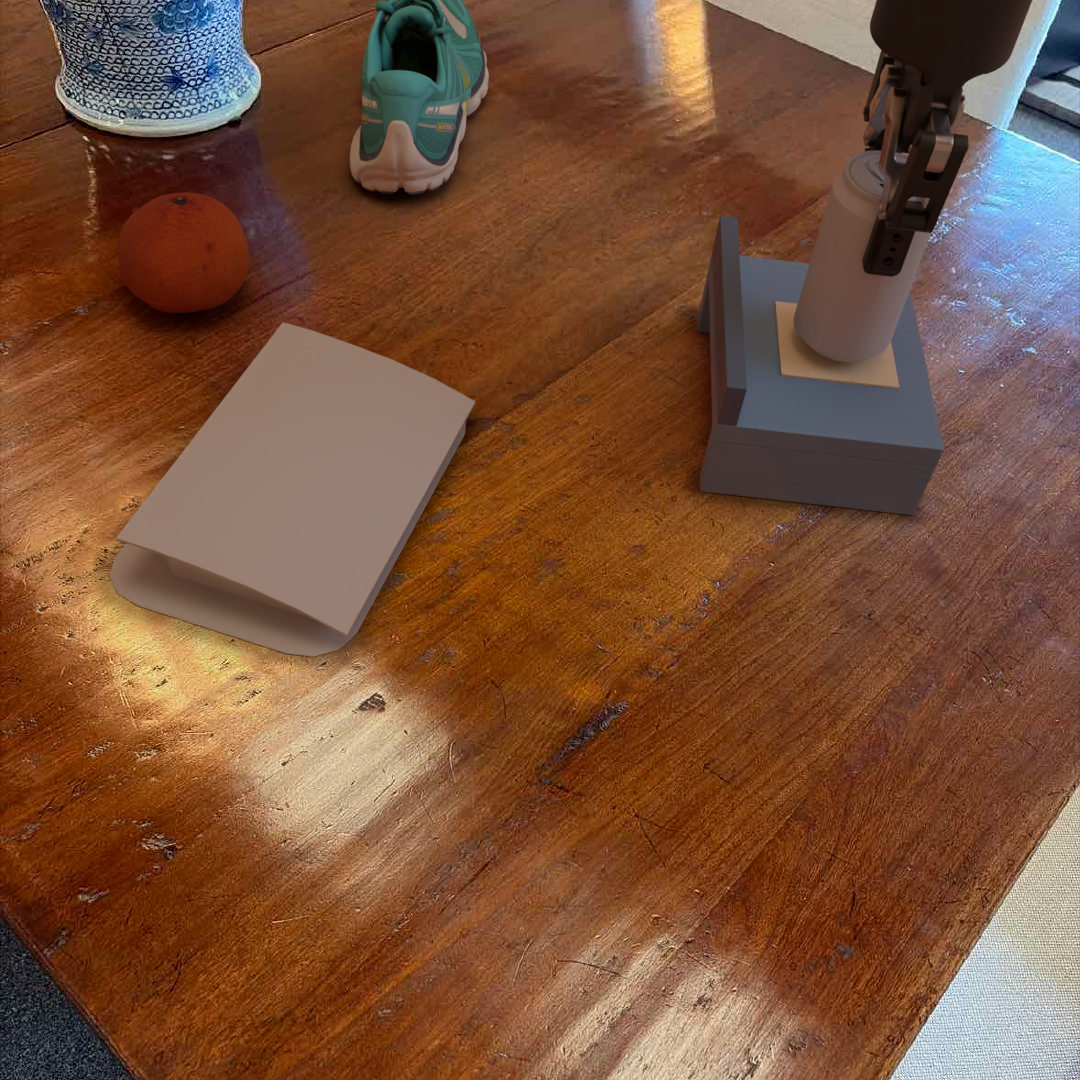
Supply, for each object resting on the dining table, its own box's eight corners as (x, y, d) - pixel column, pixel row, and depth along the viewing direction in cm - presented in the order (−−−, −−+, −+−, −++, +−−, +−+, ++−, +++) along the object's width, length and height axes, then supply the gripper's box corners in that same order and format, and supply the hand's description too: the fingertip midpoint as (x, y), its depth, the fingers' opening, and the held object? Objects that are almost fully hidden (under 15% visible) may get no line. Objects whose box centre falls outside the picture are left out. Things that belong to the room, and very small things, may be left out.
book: (90, 590, 68) (75, 545, 65) (272, 350, 83) (267, 305, 80) (338, 670, 66) (334, 627, 63) (480, 409, 81) (482, 364, 78)
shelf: (882, 340, 89) (921, 238, 83) (913, 516, 77) (961, 413, 71) (697, 319, 89) (720, 215, 82) (699, 491, 77) (726, 386, 70)
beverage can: (824, 378, 75) (880, 214, 66) (772, 317, 79) (817, 154, 70) (907, 357, 77) (971, 195, 68) (851, 298, 81) (905, 137, 72)
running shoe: (490, 46, 115) (496, -79, 106) (482, 215, 96) (489, 81, 87) (373, 37, 114) (370, -89, 106) (343, 206, 95) (336, 70, 87)
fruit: (229, 248, 90) (216, 153, 84) (269, 317, 85) (258, 220, 79) (111, 274, 87) (89, 177, 81) (145, 347, 82) (124, 249, 76)
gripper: (1073, 29, 55) (951, 318, 68) (1015, -92, 65) (918, 180, 77) (912, 11, 55) (820, 303, 68) (877, -108, 65) (803, 167, 77)
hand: (873, 236), depth 72 cm, fingers closed on beverage can, 6 cm apart
